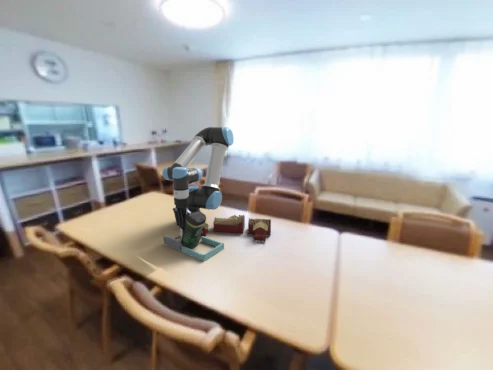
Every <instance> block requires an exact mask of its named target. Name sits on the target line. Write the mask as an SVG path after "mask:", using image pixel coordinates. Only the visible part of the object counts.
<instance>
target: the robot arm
mask: <svg viewBox="0 0 493 370" xmlns="http://www.w3.org/2000/svg"><path fill="white" fill-rule="evenodd" d="M233 144H234V133H233V130H232V129H231V128H230V127H227V126H218V127H217V126H209V127H205V128H203V129H201V130H199V132H198V133H196V134H195V135H194V136H193V138H192V141H191V142H190V144H188V146H186V148H185V149H184V151H183V152H182V153H181V154H180V156H178V158H177V159H176V160H175V161H174V162H173V163H172V165H171V166H166V167H164V168H163V169H162V178H163V179H164V180H166V181H169V182H170V181H172V186H173V197H174V198H173V203H174V206H175V207H173V208H172V211H173V214H174V218H175V224H176V226H177V227H178V228H179V233H180V235H181V237H180V240H181V239H182V236H183V233H184V230H185V227H186V224H187V218H188V216H189V215H190V214H192V213H194V212H202V211H201V209H205V210H208V211H209V210H212V211H214V210H217V209H219V207H220V206H221V203H222V202H223V201H222V200H223V193H222V192H221V189H220V187H219V184H220V180H221V176H222V175H221V174H222V170H223V165H224V160H225V156H226V155H225V154H226V151H229V147H230V146H232V145H233ZM207 146H210V147H211V153H210V157H209V163H208V166H207V171H206V176H205V181H204V184H202V185H201V186H200V187H201V188H200V187H199V186H198V185H192V186H191V185H189V184H192V183H197V182H198V181H200V180H202V178H203V171H202V170H201V169H200V168H199V167H192V168H189V166H190V164H192V162H193V161H194V160H195V158H196V157H197V156H198V155H199V153H200V152H201V150H203V149H205V148H206V147H207Z"/></svg>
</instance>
